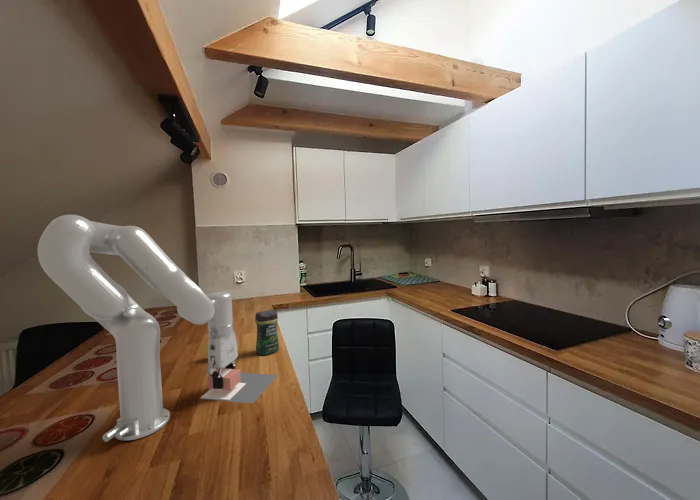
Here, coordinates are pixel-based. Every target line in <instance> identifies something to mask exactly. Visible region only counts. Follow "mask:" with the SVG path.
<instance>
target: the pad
mask: <svg viewBox="0 0 700 500" xmlns="http://www.w3.org/2000/svg"><path fill="white" fill-rule="evenodd" d="M245 384H246V383H238V384H237V385H236V386H235V387H234V388H233V389H232V390H216V389H208V390H207V391H206V392H205V393H203V395H201V397H200V399H202V398H204V399H203V400H205V399H217V400H216V401H218V400H230V399H231V398H232V397H233V396H234V395H235V394H236V393H237V392H238V391H239V390H240V389H241V388H242V387H243V386H244V385H245Z"/></svg>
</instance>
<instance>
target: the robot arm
mask: <svg viewBox="0 0 700 500" xmlns="http://www.w3.org/2000/svg"><path fill="white" fill-rule="evenodd" d="M91 253H95V254H102V255H112V256H113V255H114V256H119V257H121V259H122V260H123V261H125V263H126V264H127V265H129V267H130V268H131V269H133V271H134V272H136V274H138V276H139V277H140V278H141V279H142V280H143V281H144V282H145V283H146V284H147V285H149V286H150V288H152V289H153V290H155V291H156V292H158V293H159V294H161V295H163V296H164V297H166V299H168V300H169V301H170V302H171V303H173V304H174V305H175V306H176V310H177V314H178V315H179V316H180V317H181V318H183V319H185V320H186V321H189V322H190V323H192V324H194V325H205V324H207V329H208V341H207V342H208V343H207V345H208V357H207V362H208V366H207V368H206V371H205V372H206V374H207V375H208V376H209V375H210V376H211V377H213V388H214V389H222V388H223V377H222V376H221V373H222V369H236V368H235V366H236V359H237V358H238V356H239V349H238V339H237V336H236V332H235V330H234V317H233V301H232V300H233V299H232V294H231V293H230V292H227V291H217V292H213V293H210V294H209V293H208V294H206V293H205V292H204V291H203V290H202V289H201V288H200V287H199V285H197V283H195V282H194V281H193V280H192V279H191V278H190V277H189V276H188V275H187V274H186V273H185V272H184V271H183V270H182V269H181V268H180V267H179V266H178V265H177V264H176V263H175V262H174V261H173V260H172V259H171V258H170V257H169V256H168V255H167V254H166V253H165V251H164V250H163V249H162V247H160V245H158V243H157V242H156V241H155V240H154V239H153V238H152V237H151V236H150V234H149V233H147V231H145V229H143V228H141V227H139V226H137V225H136V226H135V225H124V226H122V225H114V224H109V223H103V222H98V221H93V220H89V219H88V218H86V217H84V216H81V215H79V214H64V215H60V216H58V217H55V218H54V219H53V220H52V221H50V223H48V225H47V226H46V228H45V229H44V230H43V232H42V234H41V236H40V239H39V240H38V245H37V258H38V262H39V265H40V266H41V268H42V270H43V271H44V273H45V274H46V275H47V276H48V278H50V280H52V281H53V282H54V283H55V284H56V285H57V287H59V288H60V289H61V290H62V291H63V292H64V293H65V294H66V295H67V296H68V297H70V299H72V300H73V301H74V302H75V303H76V304H77V305H78V306H79V307H80V308H81V310H82V311H83V312H84V313H85V314H86V315H87V316H89V317H91V318H93V319H94V320H95V321H96V322H97V323H99V324H100V325H101V326H102V328H104V329H105V330H107V331H108V332H109V333H110V334H111V335H112V336H113V338H114V340H115V346H116V347H115V348H116V354H115V355H116V357H115V358H116V373H117V375H116V376H117V385H118V386H117V387H118V399H119V400H118V401H119V414H120V417H118V418H117V419H116V425H114V427H113V428H112V429H110V430H109V431H107V432H105V433H104V434H103V435H102V440H103V442H105V443H107V442H108V441H110V440H111V439H113V438H115V439H117V440H119V441H133V440H139V439H142V438H144V437H147V436H149V435H151V434H154V433H156V432H157V431H159V430H161V429H162V428H163V427H165V425H166V424H168V422H169V420H170V419H171V413H170V411H169V409H167V408H165V407H164V404H163V403H164V401H163V388H162V386H163V385H162V370H161V356H160V353H161V352H160V351H161V350H160V345H161V344H160V343H161V329H160V328H161V327H160V324H159V322H158V321H157V319H156V318H155V317H154V316H153V315H151V313H149V312H147V311H146V310H144V309H143V308H142V307H141V306H140V305H139V304H138V303H137V301H135V300H134V299H133V298H132V297H131V296H130V295H129V293H128V292H127V291H126V289H125V288H124V287H123V286H122V285H120V284H119V283H118V282H116V281H115V280H113V279H112V278H111V277H110V275H108V273H107V272H106V271H104V270H103V268H102V267H101V266H100V265H99V264H98V263H97V262H96V261H95V260H94V258H92V255H91ZM217 369H218V373H217V372H216V370H217Z"/></svg>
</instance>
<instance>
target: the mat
mask: <svg viewBox="0 0 700 500" xmlns="http://www.w3.org/2000/svg"><path fill="white" fill-rule="evenodd" d="M277 376H278V374H269V373H267V374H266V373H265V374H264V373H250V372H249V373H248V372H240V377H241V381H240V382H239V383H246V384H245V385H244V386H243V387H242V388H241V389H240V390H239V391H238V392H237V393H236V394H235V395H234V396H233V397H232V398H231V399H230V400H217V399H204V398H201V400H205V401H207V400H208V401H218V402H219V401H220V402H232V403H244V404H245V403H246V404H254V403H255V402H256V401H257V400H258V399H259V398H260V397H261V395H262V394H263V393H264V392H265V391H266V389H268V387H269V386H271V384H272V383H273V381H274V380H275V379H276V378H277Z"/></svg>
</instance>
